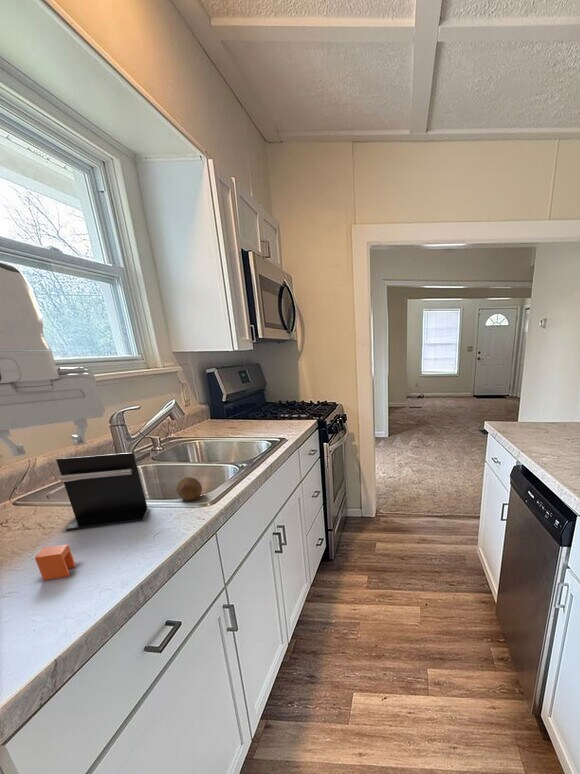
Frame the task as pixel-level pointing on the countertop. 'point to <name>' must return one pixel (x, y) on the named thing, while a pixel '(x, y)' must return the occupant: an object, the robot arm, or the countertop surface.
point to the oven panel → (103, 490)
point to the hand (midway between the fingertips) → (51, 449)
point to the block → (55, 561)
